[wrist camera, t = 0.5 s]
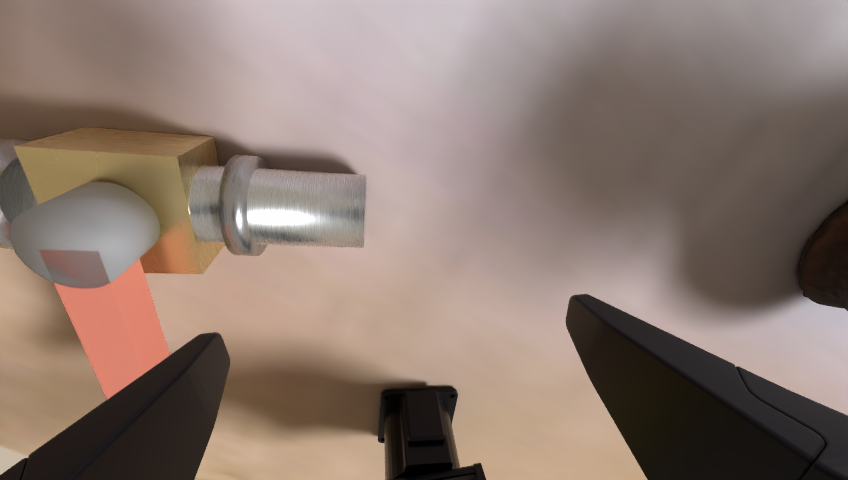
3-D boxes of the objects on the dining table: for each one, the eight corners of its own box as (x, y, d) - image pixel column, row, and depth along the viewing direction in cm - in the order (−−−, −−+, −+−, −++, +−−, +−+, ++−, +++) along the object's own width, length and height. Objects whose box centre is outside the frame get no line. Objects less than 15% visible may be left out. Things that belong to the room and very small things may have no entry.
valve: (364, 237, 23) (362, 283, 19) (-34, 222, 20) (-157, 274, 15) (367, 146, 20) (365, 173, 16) (-96, 110, 17) (-269, 132, 12)
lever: (209, 410, 22) (175, 481, 18) (145, 412, 21) (97, 486, 18) (148, 184, 15) (77, 227, 12) (53, 179, 15) (-55, 222, 11)
